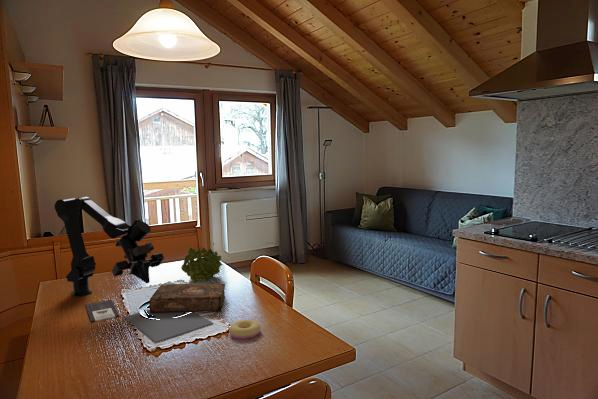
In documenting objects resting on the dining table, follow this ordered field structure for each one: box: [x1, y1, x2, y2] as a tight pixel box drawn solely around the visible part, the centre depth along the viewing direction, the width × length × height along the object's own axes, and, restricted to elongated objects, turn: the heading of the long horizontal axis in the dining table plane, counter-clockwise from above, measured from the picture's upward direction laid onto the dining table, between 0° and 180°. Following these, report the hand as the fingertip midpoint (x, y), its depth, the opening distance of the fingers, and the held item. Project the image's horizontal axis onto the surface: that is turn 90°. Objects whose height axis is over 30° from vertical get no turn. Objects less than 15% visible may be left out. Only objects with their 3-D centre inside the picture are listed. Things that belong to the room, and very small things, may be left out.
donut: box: [228, 319, 262, 340], centre depth 132 cm, size 10×5×9 cm
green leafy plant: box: [180, 247, 223, 283], centre depth 185 cm, size 18×16×16 cm
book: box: [148, 283, 226, 313], centre depth 155 cm, size 16×6×25 cm
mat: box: [124, 309, 214, 344], centre depth 142 cm, size 26×20×1 cm
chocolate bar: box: [85, 299, 120, 323], centre depth 150 cm, size 9×1×18 cm
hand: (148, 282), depth 153 cm, fingers closed
